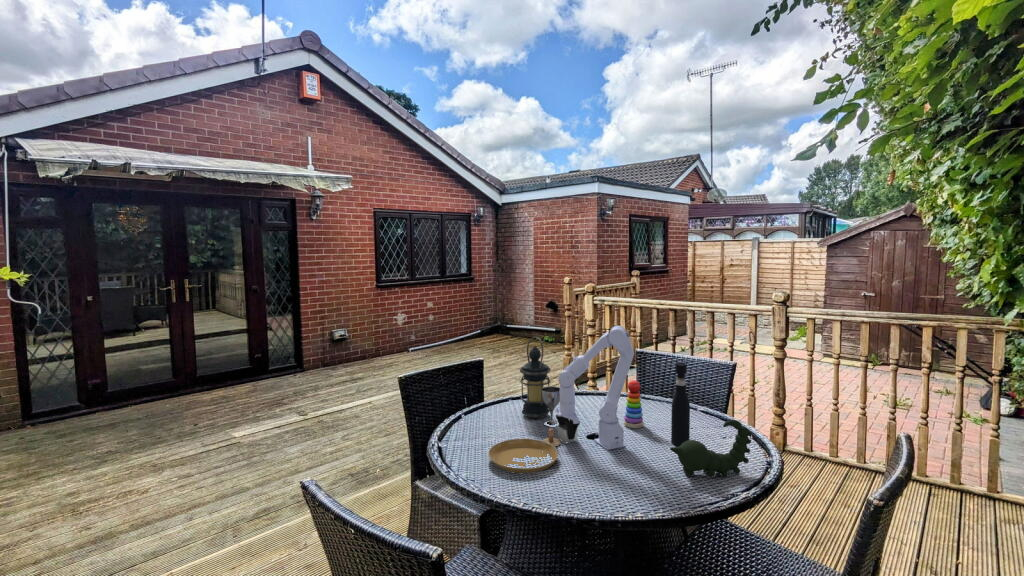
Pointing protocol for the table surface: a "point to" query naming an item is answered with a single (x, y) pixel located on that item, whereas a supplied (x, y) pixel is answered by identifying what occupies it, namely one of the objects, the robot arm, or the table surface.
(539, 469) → the plant saucer
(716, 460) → the toy figurine
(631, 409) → the stacking toy
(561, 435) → the collar
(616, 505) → the table surface
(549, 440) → the post stand
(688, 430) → the wine bottle
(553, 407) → the wine glass
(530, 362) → the lantern
